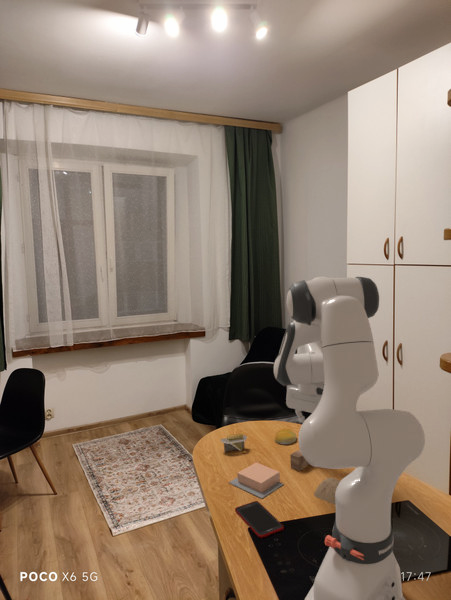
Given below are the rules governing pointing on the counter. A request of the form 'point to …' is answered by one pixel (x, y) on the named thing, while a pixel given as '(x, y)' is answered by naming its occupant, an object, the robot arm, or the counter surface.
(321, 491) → the clay tablet
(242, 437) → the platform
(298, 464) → the bar
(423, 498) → the counter surface
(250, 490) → the mat
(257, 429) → the counter surface
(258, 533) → the cell phone
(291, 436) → the bread roll
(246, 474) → the tile
